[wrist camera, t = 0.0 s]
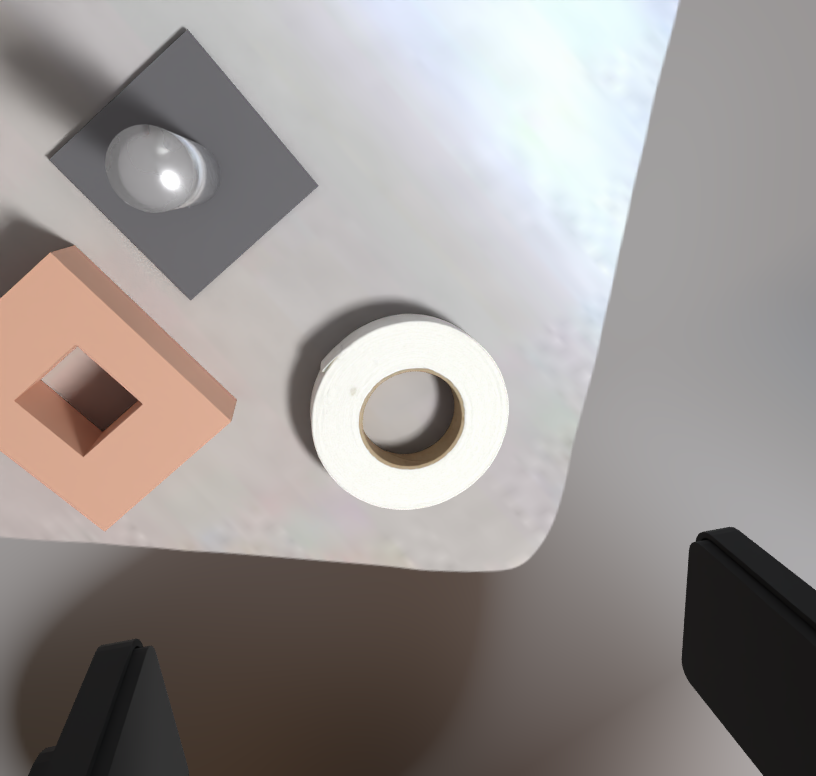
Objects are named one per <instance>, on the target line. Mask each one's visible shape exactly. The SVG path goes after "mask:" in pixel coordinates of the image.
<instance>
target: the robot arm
mask: <svg viewBox="0 0 816 776" xmlns="http://www.w3.org/2000/svg"><path fill="white" fill-rule="evenodd" d="M682 666H683V670H684V673H685V675H686V677H687V679H688V681H689V682H690V684H691V685H692V686H693V687H694V689H695V690H696V691H697V693H698V694H699V695H700V696H701V698H702V699H703V700H704V701H705V703H706V704H707V705H708V706H709V708H710V709H711V710H712V711H713V713H714V714H715V715H716V716H717V718H718V719H719V720H720V722H721V723H722V724H723V725H724V726H725V728H726V729H727V730H728V732H729V733H730V734H731V735H732V737H733V738H734V739H735V740H736V742H737V743H738V744H739V745H740V747H741V748H742V749H743V750H744V752H745V753H746V754H747V756H748V757H749V758H750V759H751V760H752V762H753V763H754V764H755V765H756V767H757V768H758V769H759V771H760V772H761V773H762V774H763V776H816V590H815V589H813V588H812V587H811V586H809V585H808V584H807V583H806V582H804V581H803V580H802V579H801V578H799V577H798V576H796V575H795V574H794V573H793V572H791V571H790V570H789V569H788V568H786V567H785V566H784V565H783V564H781V563H780V562H779V561H777V560H776V559H775V558H774V557H772V556H771V555H770V554H768V553H767V552H766V551H765V550H763V549H762V548H761V547H759V546H758V545H757V544H756V543H754V542H753V541H752V540H750V539H749V538H748V537H747V536H745V535H744V534H743V533H741V532H740V531H739V530H737V529H735V528H734V527H727V528H722V529H716V530H710V531H706V532H702V533H699V534H698V536H697V538H696V542H693V543H692V544H691V545H690V548H689V560H688V574H687V588H686V603H685V618H684V634H683V648H682ZM28 776H189V771H188V766H187V763H186V759H185V756H184V752H183V748H182V745H181V741H180V737H179V734H178V730H177V727H176V723H175V720H174V716H173V712H172V709H171V705H170V702H169V698H168V695H167V691H166V688H165V684H164V680H163V677H162V673H161V670H160V666H159V663H158V659H157V655H156V652H155V649H154V648H153V646H147V647H143V645H142V643H141V641H140V640H139V639H132V640H127V641H122V642H117V643H111V644H106V645H101V646H100V647H98V649H97V651H96V652H95V655H94V657H93V660H92V662H91V664H90V667H89V669H88V671H87V674H86V676H85V679H84V681H83V683H82V686H81V688H80V690H79V693H78V695H77V698H76V700H75V702H74V705H73V707H72V709H71V712H70V714H69V717H68V719H67V721H66V724H65V726H64V728H63V731H62V733H61V736H60V738H59V740H58V743H57V745H56V746H53V747H48V748H45V749H44V750H43V751H42V752H41V753H40V754H39V755H38V757H37V759H36V760H35V762H34V764H33V766H32V768H31V771H30V773H29V775H28Z"/></svg>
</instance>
